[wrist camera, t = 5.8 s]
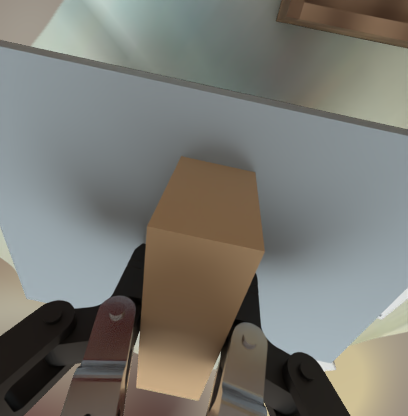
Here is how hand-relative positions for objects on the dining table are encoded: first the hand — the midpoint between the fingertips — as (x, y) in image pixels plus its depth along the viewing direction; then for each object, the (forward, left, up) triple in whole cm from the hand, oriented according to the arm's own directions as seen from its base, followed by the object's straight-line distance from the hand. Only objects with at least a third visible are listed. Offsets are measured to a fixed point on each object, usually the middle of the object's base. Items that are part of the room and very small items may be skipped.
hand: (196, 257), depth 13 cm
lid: (0, 0, -1) cm, 1 cm away
